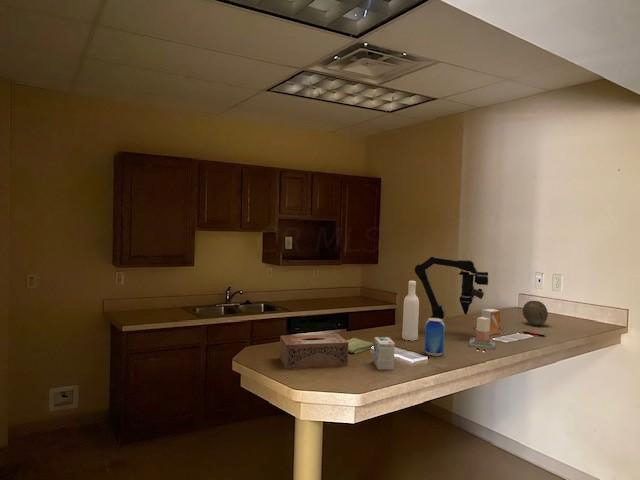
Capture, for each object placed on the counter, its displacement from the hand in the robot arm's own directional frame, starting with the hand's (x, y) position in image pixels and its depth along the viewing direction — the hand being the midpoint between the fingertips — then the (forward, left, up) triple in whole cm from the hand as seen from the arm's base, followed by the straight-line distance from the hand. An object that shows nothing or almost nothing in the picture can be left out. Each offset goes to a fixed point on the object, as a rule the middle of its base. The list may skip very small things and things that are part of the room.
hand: (466, 312), depth 246 cm
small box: (+12, +16, -13) cm, 24 cm away
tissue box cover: (-56, -78, -14) cm, 97 cm away
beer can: (-11, -41, -13) cm, 44 cm away
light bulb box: (-28, -69, -13) cm, 76 cm away
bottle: (-26, -19, -13) cm, 35 cm away
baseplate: (+9, -13, -13) cm, 20 cm away
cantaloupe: (+37, +53, -13) cm, 66 cm away
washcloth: (-47, -50, -14) cm, 70 cm away
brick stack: (+9, -13, -12) cm, 20 cm away
